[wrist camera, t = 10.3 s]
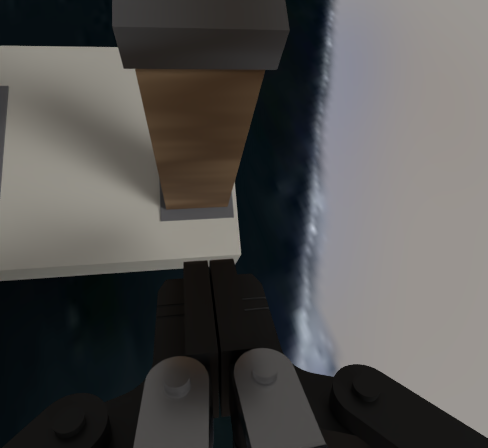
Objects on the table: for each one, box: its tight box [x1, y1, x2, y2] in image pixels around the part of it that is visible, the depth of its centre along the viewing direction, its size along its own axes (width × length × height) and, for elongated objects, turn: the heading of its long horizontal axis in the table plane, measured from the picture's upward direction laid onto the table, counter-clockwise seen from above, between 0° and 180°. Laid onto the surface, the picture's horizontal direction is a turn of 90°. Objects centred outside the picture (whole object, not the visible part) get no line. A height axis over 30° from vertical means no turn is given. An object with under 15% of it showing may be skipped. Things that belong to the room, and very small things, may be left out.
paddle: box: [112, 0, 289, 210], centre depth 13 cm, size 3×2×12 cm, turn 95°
